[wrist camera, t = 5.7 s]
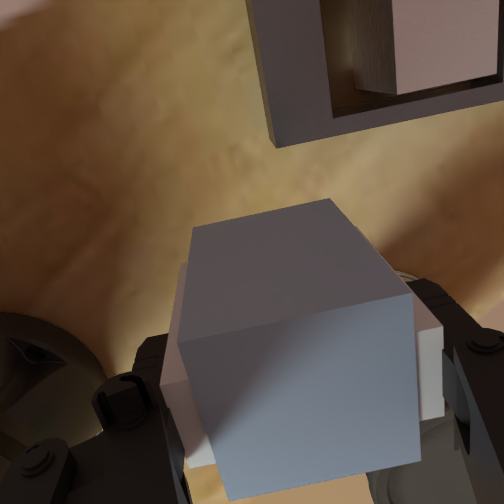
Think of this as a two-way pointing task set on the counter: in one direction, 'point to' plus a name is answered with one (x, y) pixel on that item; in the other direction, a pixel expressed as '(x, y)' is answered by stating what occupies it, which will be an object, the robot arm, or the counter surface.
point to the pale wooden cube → (421, 42)
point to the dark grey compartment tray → (317, 85)
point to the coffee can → (426, 466)
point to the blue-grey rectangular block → (298, 350)
